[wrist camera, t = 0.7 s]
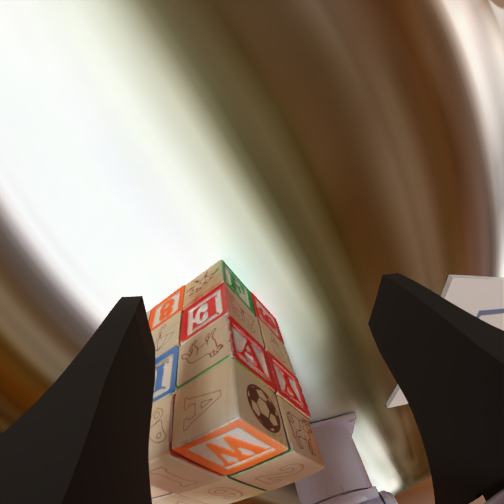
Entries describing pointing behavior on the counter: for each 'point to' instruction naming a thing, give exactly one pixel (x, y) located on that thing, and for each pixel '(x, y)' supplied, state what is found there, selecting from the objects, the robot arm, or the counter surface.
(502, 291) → the board
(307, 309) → the counter surface
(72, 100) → the counter surface
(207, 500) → the stack of blocks
